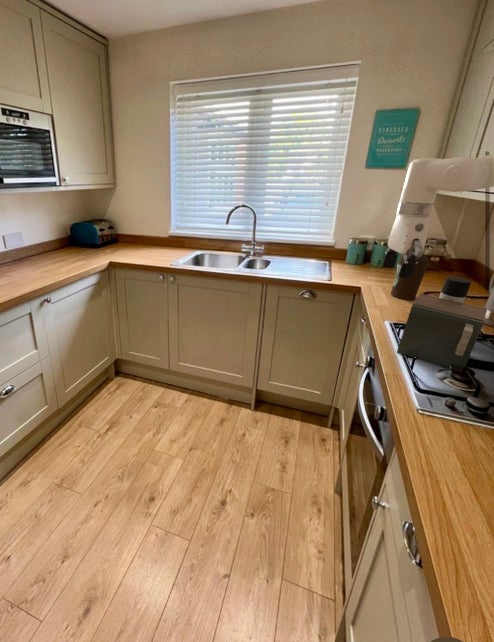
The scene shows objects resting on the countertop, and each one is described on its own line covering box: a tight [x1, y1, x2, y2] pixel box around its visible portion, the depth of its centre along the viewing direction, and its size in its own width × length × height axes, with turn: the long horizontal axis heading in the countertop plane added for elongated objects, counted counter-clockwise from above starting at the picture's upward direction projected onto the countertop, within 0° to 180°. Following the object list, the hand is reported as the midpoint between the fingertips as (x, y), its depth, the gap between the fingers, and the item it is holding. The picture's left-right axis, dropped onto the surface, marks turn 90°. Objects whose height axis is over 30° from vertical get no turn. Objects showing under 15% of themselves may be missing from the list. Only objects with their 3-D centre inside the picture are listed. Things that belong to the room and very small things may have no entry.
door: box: [396, 304, 485, 370], centre depth 91 cm, size 7×16×16 cm, turn 48°
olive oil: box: [390, 252, 429, 301], centre depth 143 cm, size 11×11×25 cm
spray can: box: [438, 276, 472, 304], centre depth 110 cm, size 7×7×20 cm
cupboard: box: [412, 293, 487, 323], centre depth 98 cm, size 12×16×16 cm
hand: (395, 272), depth 93 cm, fingers open, 9 cm apart
